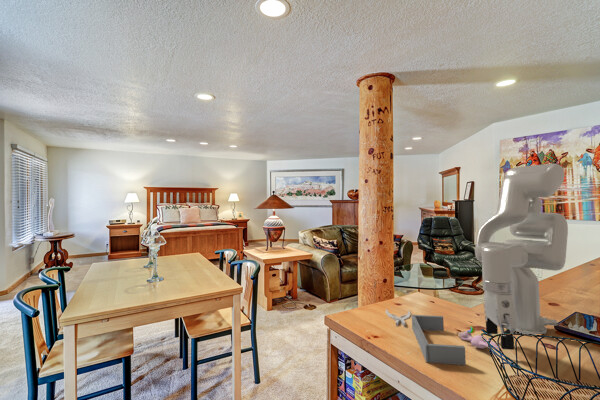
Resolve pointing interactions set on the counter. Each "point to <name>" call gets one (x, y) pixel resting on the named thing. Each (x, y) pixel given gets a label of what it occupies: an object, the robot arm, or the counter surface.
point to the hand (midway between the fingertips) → (499, 340)
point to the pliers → (399, 318)
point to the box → (436, 351)
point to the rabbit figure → (475, 339)
